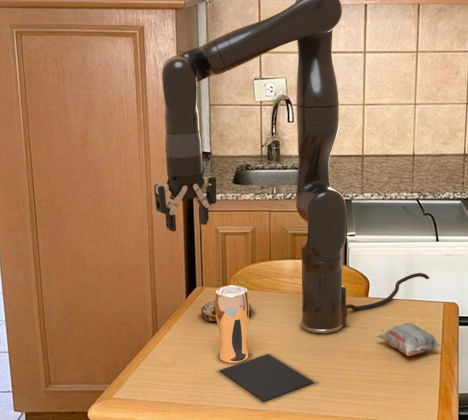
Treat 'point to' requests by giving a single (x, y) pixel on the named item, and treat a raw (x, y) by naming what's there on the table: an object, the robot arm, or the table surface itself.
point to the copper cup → (232, 322)
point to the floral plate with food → (213, 311)
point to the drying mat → (266, 377)
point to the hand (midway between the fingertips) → (188, 227)
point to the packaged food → (409, 339)
